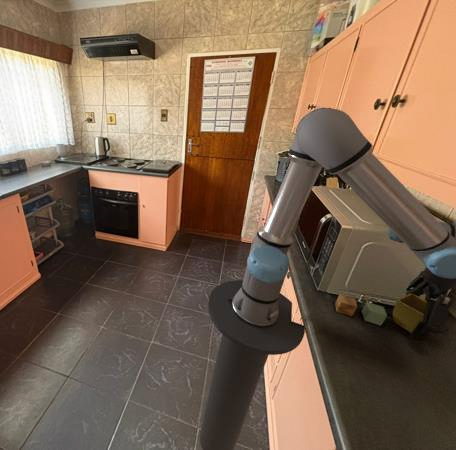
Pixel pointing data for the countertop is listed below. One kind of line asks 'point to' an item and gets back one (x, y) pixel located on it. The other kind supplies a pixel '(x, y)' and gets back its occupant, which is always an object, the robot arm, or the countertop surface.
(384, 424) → the countertop surface
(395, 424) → the countertop surface
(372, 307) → the green block
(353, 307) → the oak block
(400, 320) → the flower pot
